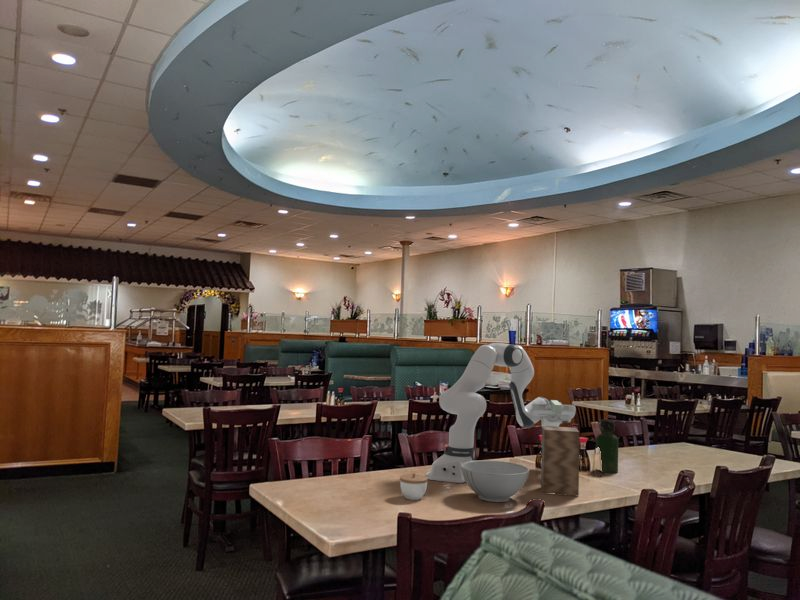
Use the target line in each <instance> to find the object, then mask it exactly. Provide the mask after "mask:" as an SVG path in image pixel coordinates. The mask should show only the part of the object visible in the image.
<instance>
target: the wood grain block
mask: <svg viewBox="0 0 800 600" xmlns="http://www.w3.org/2000/svg"><path fill="white" fill-rule="evenodd" d="M541 428H542V429H541V471H540V472H541V475H540V478H541V479H540V481H541V482H540V487H541V490H543V491H542V494H543V493H555V494H566V495H565V496H567V495H578V496H579V490H580V489H579V487H580V483H579V481H580V480H579V479H580V431H579V430H578V428H576V427H568V426H567V427H566V426H559V427H553V426H542V425H541Z"/></svg>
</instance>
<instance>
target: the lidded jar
mask: <svg viewBox="0 0 800 600" xmlns="http://www.w3.org/2000/svg"><path fill="white" fill-rule="evenodd" d="M399 480H400V482H399V485H400V491H401V493H402V496H404V497H405V499H406V500H410V501H417V500H421V499H422V497H424V496H425V494H426V491H427V487H428V480H429V479H428V478H427V477H426V475H420V474H416V473H415V472H413V473H412V474H403V475H401V476H400V477H399Z"/></svg>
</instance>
